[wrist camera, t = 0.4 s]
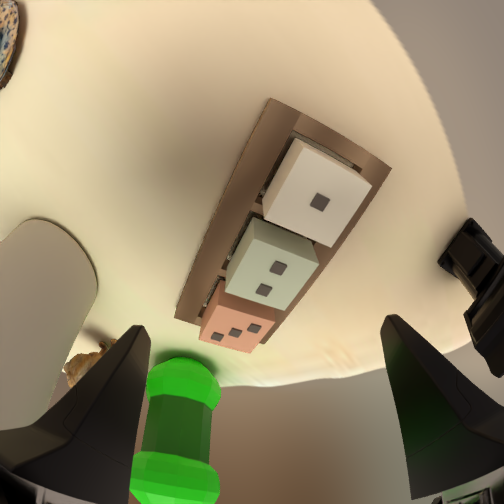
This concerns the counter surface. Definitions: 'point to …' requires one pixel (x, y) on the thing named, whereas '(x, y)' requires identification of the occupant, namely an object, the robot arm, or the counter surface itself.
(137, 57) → the counter surface
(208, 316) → the tile three pips
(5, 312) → the cylinder vase
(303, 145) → the tile one pip
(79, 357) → the lion figurine
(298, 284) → the tile two pips
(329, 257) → the walnut board
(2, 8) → the mossy decorative centerpiece
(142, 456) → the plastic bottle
